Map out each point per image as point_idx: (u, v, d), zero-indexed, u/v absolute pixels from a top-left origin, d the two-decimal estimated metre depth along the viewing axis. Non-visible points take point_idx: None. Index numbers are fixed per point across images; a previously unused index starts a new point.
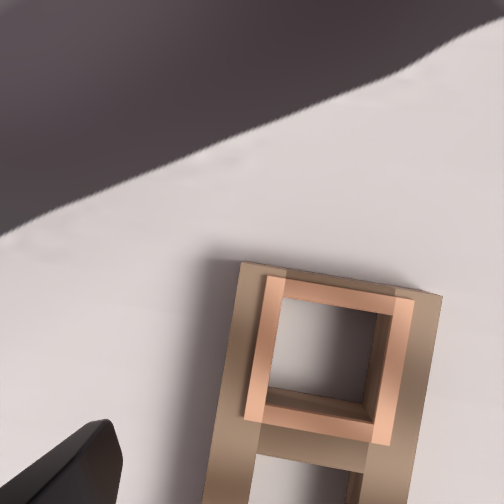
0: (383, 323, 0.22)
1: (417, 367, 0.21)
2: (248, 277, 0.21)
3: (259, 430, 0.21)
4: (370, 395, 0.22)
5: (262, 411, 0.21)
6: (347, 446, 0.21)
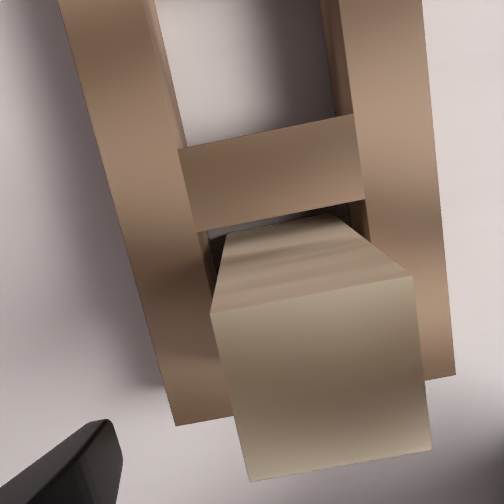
0: None
1: None
2: None
3: None
4: None
5: None
6: None
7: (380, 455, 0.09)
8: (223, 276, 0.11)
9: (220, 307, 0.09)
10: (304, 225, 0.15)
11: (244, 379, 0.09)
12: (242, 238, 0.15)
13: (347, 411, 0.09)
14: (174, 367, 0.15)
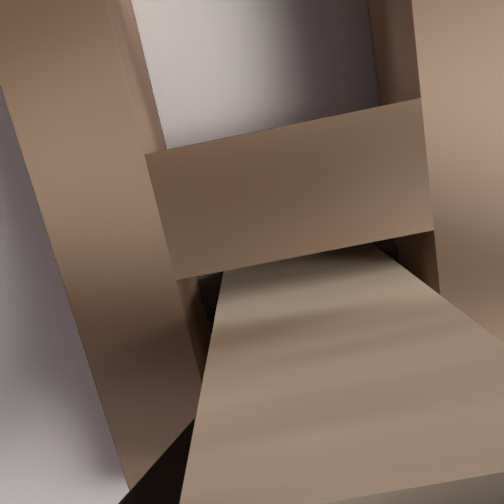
0: None
1: None
2: None
3: None
4: None
5: None
6: None
7: None
8: (213, 379, 0.06)
9: (200, 502, 0.04)
10: (336, 264, 0.10)
11: None
12: (245, 283, 0.10)
13: None
14: (145, 472, 0.10)
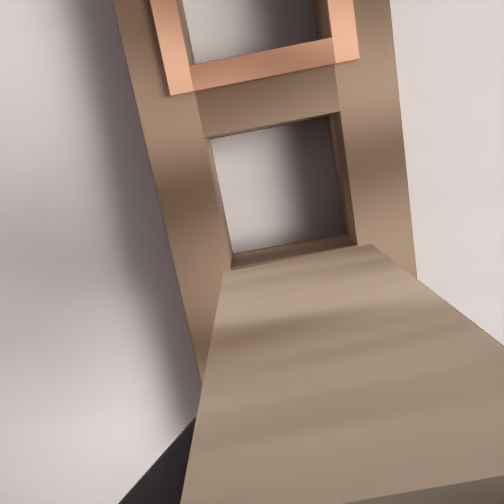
0: None
1: None
2: None
3: (196, 106, 0.16)
4: (322, 21, 0.17)
5: (189, 75, 0.16)
6: (310, 84, 0.16)
7: None
8: (213, 381, 0.06)
9: None
10: (336, 265, 0.10)
11: None
12: (245, 284, 0.10)
13: None
14: None
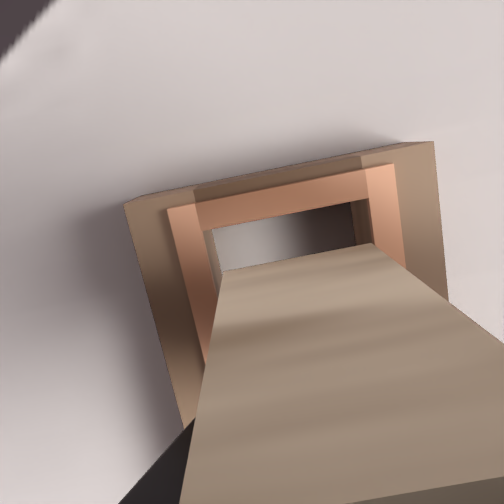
0: (360, 211, 0.15)
1: (425, 256, 0.14)
2: (143, 221, 0.14)
3: None
4: None
5: None
6: None
7: None
8: (212, 381, 0.06)
9: None
10: (336, 265, 0.10)
11: None
12: (245, 284, 0.10)
13: None
14: None
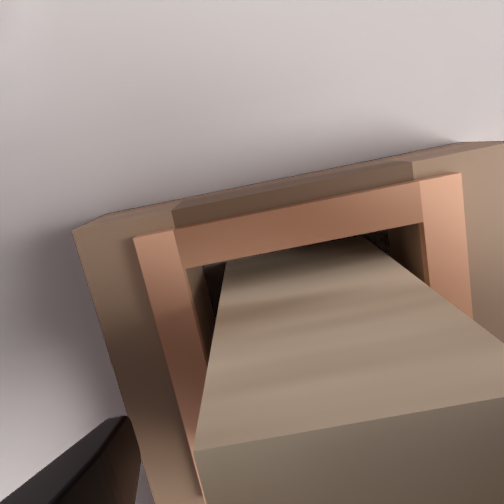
0: (404, 237, 0.11)
1: (499, 302, 0.10)
2: (101, 254, 0.10)
3: None
4: None
5: None
6: None
7: None
8: (219, 348, 0.07)
9: (212, 433, 0.05)
10: (329, 254, 0.11)
11: None
12: (246, 271, 0.11)
13: None
14: None
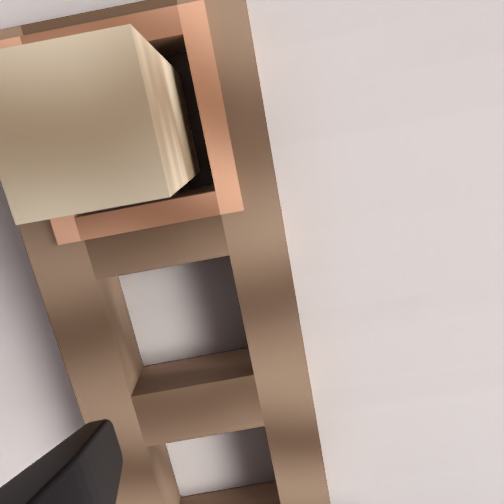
0: None
1: (244, 97, 0.15)
2: None
3: (86, 251, 0.17)
4: None
5: (75, 226, 0.16)
6: (198, 231, 0.17)
7: (126, 201, 0.11)
8: None
9: None
10: None
11: None
12: None
13: (91, 156, 0.10)
14: None
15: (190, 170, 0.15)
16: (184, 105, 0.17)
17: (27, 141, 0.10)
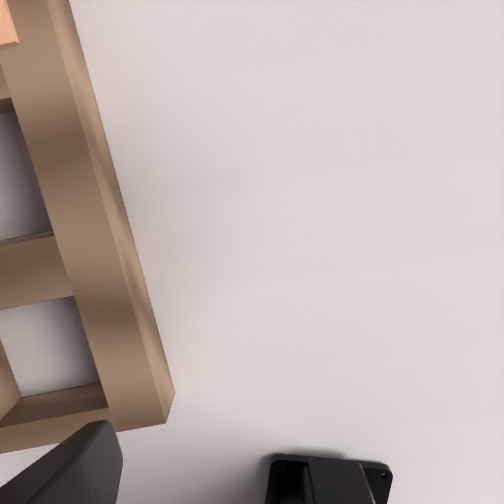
0: None
1: None
2: None
3: None
4: None
5: None
6: None
7: None
8: None
9: None
10: None
11: None
12: None
13: None
14: None
15: None
16: None
17: None
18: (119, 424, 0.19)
